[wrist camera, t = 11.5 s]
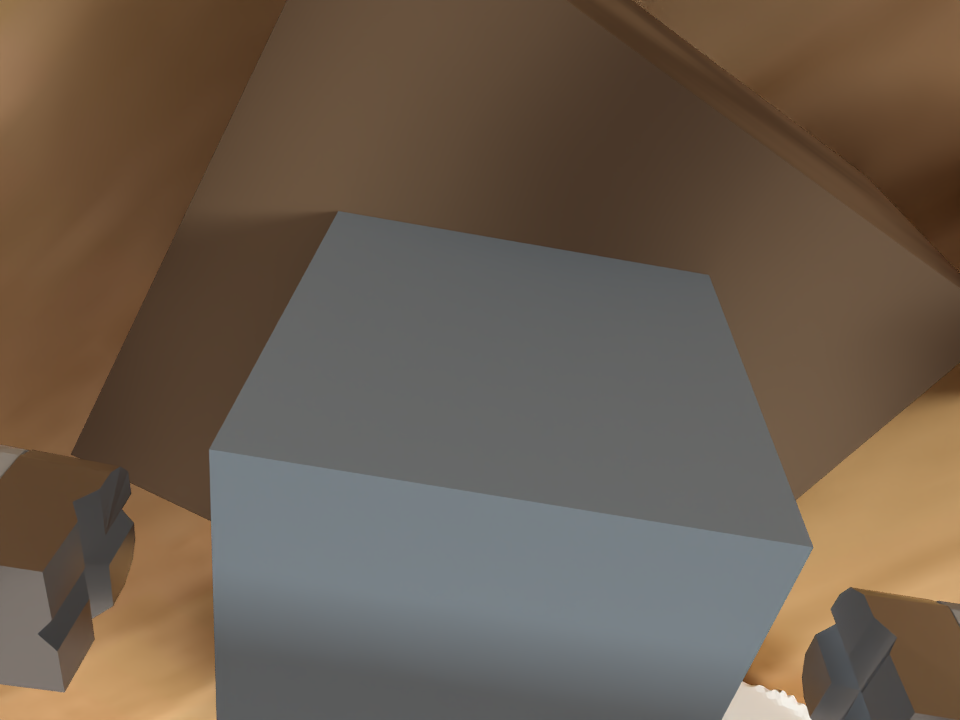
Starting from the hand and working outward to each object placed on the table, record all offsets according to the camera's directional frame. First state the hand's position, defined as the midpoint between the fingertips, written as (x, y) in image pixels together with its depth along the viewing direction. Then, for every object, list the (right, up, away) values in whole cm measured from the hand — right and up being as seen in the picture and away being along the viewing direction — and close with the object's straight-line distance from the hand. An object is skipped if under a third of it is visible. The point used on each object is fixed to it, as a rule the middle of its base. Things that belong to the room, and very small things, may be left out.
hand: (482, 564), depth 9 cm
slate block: (0, +2, +3) cm, 3 cm away
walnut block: (+1, +5, +8) cm, 9 cm away
